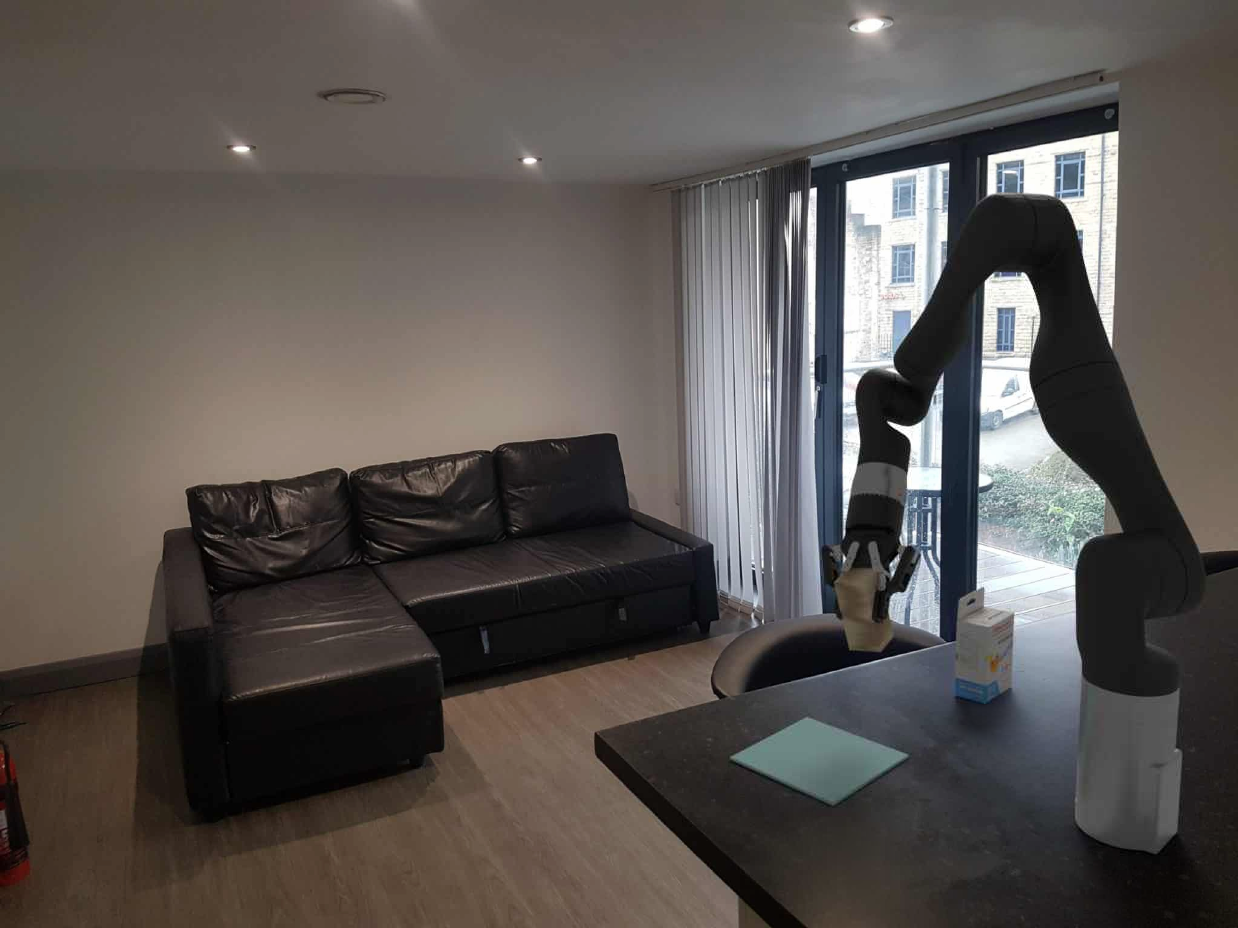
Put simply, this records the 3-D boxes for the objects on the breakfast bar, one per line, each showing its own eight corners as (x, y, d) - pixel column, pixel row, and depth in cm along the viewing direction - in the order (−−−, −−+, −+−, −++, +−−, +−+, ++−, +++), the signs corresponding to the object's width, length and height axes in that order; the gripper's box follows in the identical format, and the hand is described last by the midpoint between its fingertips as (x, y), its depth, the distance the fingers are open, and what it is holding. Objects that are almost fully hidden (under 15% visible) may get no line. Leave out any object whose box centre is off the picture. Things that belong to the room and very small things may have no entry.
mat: (908, 757, 121) (908, 754, 121) (833, 805, 111) (833, 802, 111) (806, 719, 133) (806, 716, 133) (730, 759, 123) (730, 756, 123)
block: (893, 635, 129) (879, 568, 126) (880, 652, 125) (865, 583, 123) (862, 633, 132) (848, 568, 129) (849, 649, 128) (833, 582, 126)
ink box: (987, 705, 135) (989, 606, 132) (953, 696, 139) (955, 599, 136) (1013, 686, 141) (1016, 591, 138) (980, 678, 144) (983, 585, 142)
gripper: (818, 493, 134) (798, 609, 128) (916, 489, 125) (899, 614, 119) (842, 513, 139) (823, 626, 133) (937, 511, 130) (922, 632, 124)
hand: (859, 619), depth 126 cm, fingers closed on block, 4 cm apart
